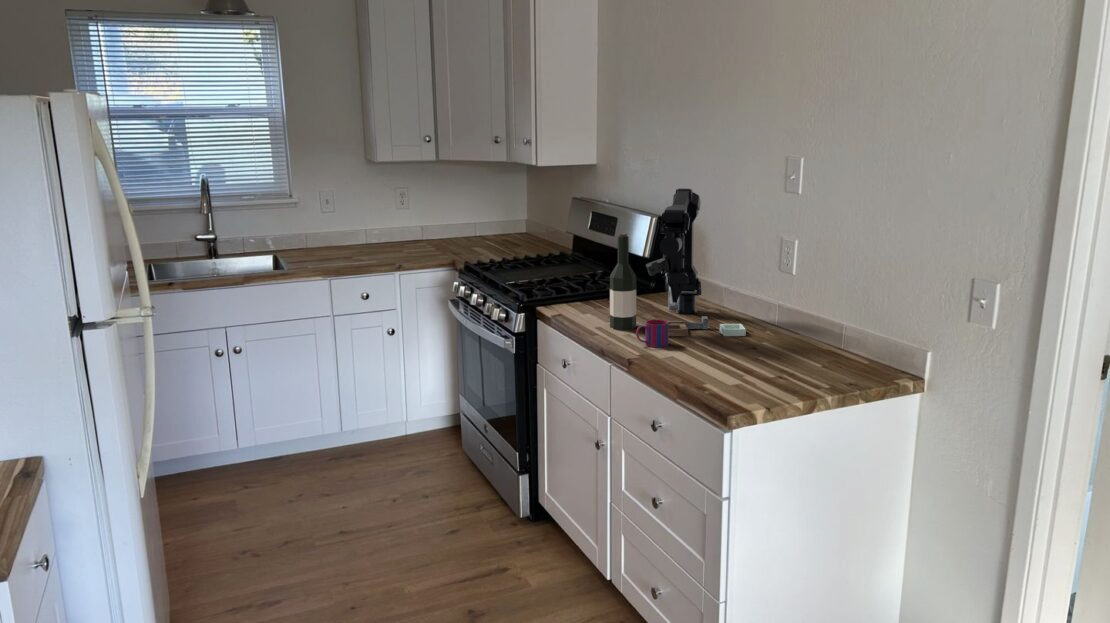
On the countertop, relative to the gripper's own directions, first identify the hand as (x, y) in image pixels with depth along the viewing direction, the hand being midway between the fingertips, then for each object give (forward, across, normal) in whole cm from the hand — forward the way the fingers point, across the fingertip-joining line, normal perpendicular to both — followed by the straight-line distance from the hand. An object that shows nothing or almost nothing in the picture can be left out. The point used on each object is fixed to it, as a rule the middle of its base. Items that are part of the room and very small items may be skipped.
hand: (673, 301), depth 250 cm
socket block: (+10, -2, 0) cm, 10 cm away
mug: (+10, +12, -8) cm, 18 cm away
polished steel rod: (+3, 0, 0) cm, 3 cm away
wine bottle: (+10, -9, -15) cm, 20 cm away
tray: (+10, +1, +18) cm, 21 cm away
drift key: (+10, -5, +5) cm, 12 cm away
